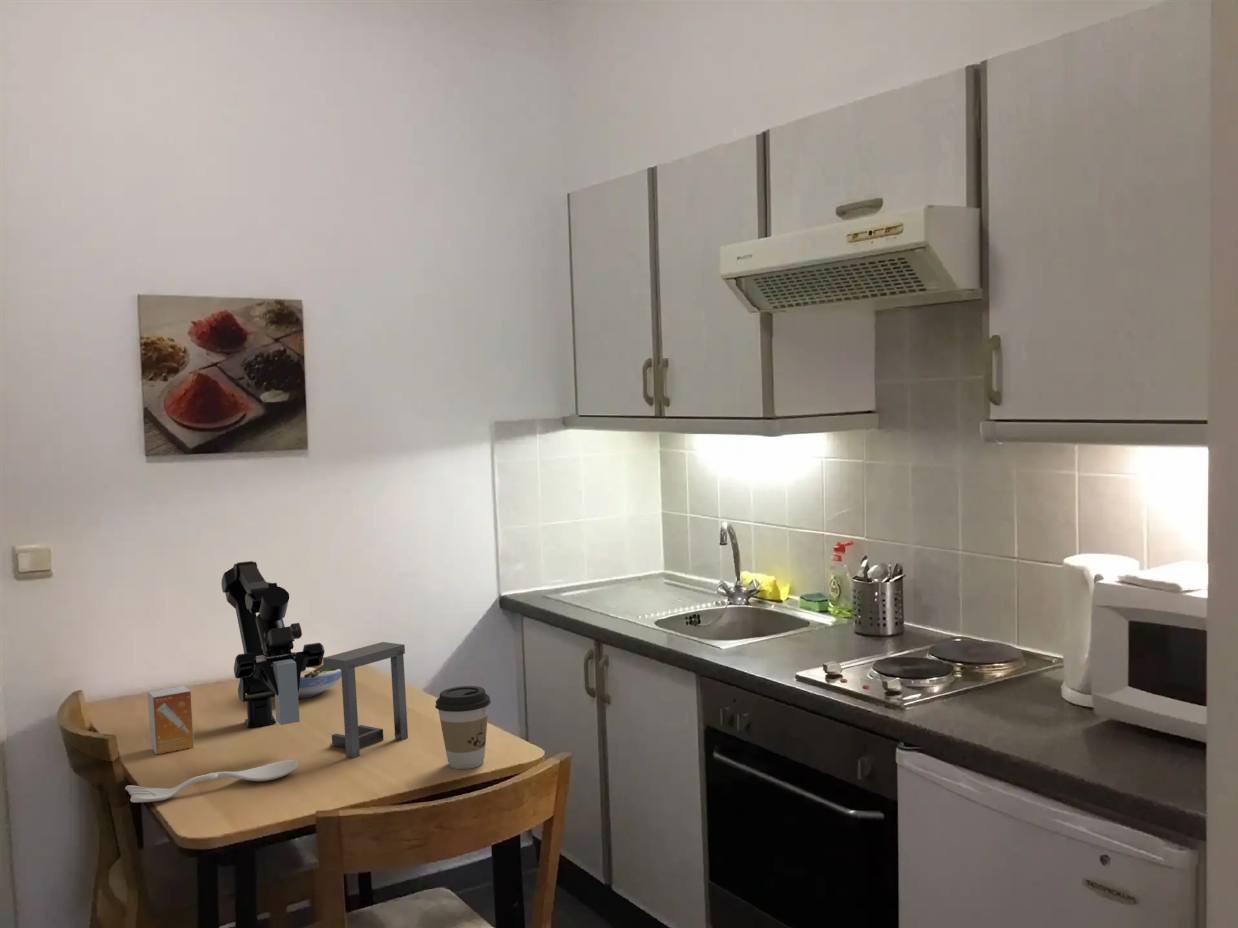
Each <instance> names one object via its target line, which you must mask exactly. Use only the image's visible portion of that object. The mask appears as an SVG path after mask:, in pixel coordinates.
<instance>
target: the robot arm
mask: <svg viewBox="0 0 1238 928" xmlns="http://www.w3.org/2000/svg"><path fill="white" fill-rule="evenodd" d="M221 590H222V592H223V593H224V594H225V597H226V598H225V599H226V602H227V603H228V604H229V605H231V606H232V607H233V608H234V609H235V613H236V617H237V624H238V629H239V633H240V639H241V643H242V644H241V645H242V648H243V653H239V654H237V655H236V656H235V659H234V660H235V661H234V664H233V672H234V673H233V674H234V677H235V679H237V680H238V679H239V683H238V688H237V694H238V699H239V701H240V702H242V703H246V713H247V714H246V715H247V718H246V719H244V722H245V725H246V727H247V728H254V727H261V726H267V725H274V724H277V721H276V719H275V717H274V715H273V703H272V698H273V697H274V698H275V695H278V687H277V684H276V681H275V678H274V672H273V662H275V661H282V660H289V659H292V660H293V661H295V662H296V670H297V686H298V692H299V686H300V676H301V672H302V671H305V670H306V667H307V668H309V667H315V666H319V665H321V663H322V660H323V657H325V656H324V655H325V653H326V651H325V647H324V645H323V644H322V643H320V642H315V643H309V644H306V643H305V644H304V645H303V648H302V651H297V652H296V651H294V652H292V650H293V649H294V647H295V646H294V642H295V640H298V639H300V638H302V636H303V632H302V627H301V624H300V622H295V623H291V624H290V625H289V626H285V622H284V618H286V614H287V610H288V606H289V600H290V593H289V592H288V591H287V590H286V589H285V588H284V587H282V586H278V582H269V581H268V582H267V581H266V579H265V578H264V577H263V575H262V574H261V572H260V569H259V568H258V564H257V562H256V561H253V560H249V561H241V562H236V563H234V565H233V567H231V568H230V569H228V570H227V571H225V572H223V575H222V578H221Z"/></svg>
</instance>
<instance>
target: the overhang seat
mask: <svg viewBox="0 0 1238 928" xmlns="http://www.w3.org/2000/svg"><path fill="white" fill-rule="evenodd" d="M405 653H406V648H405V644H402V643H393V642H388V641H387V642H385V641H382V642H381V641H380V642H377V643H374V644H370V645H366V646H362V647H360V648H359V647H358V648H355V649H352V650H347V651H344V652H340V653H336V654H332V655H329V656H323V657H324V658H323V665H324V667H327V668H333V669H340V670H341V688H342V689H341V690H342V704H343V705H342V706H343V708H342V709H343V719H344V720H343V723H344V725H343V727H344V734H341V733H334V734H331V743H329V746H332V747H335V748H340V749H345V757H346V758H349V759H355V758H358V757H360V756H361V752H360V750H361V749H363V748H366V747H368V746H371V745H374V744H378V743H380V742H383V741H384V729H382V728H379V727H373V726H369V725H365V724H364V725H363V724H360V725H359V717H358V702H357V699H358V698H357V686H356V685H357V683H356V682H357V680H356V668H359V667H362V666H365V665H368V664H369V665H370V664H374V663H376V662H381V661H383V660H387V659H390V670H391V672H390V673H391V685H392V686H391V688H392V690H391V692H392V703H393V704H392V707H393V708H392V709H393V721H394V722H393V725H394V726H393V727H394V739H395V740H398V741H403V740H406V739H409V733H408V731H409V729H408V728H409V727H408V716H407V714H408V711H407V697H406V695H407V694H406V683H405V682H406V678H405V677H406V676H405V661H404V660H405V659H404V654H405Z"/></svg>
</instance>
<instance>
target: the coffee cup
mask: <svg viewBox="0 0 1238 928" xmlns="http://www.w3.org/2000/svg"><path fill="white" fill-rule="evenodd" d="M491 703H492V701H491V697H490V695H489V694H487V693H486V690H485V688H483V687H482V686H476V685H462V686H454V687H448V688H446V689H443V690H442V691H441V692H440V693H439V697H438V698H437V699H436V700H435V709H437V711H438V715H439V720H440V726H441V727H440V728H441V732H442V737H443V738H442V739H443V742H444V743H443V744H444V748H445V754H446V758H447V759H446V760H447V763H448V765H449V766H448V767H449V768H450V769H451V768H452V769H456V770H469V769H473V768H474V769H475V768H477V767H480V766H483V764H484V763H485V761H484V759H485V758H486V757H485V755H486V745H487V744H486V743H487V730H488V719H489V716H488V715H489V705H490V704H491Z"/></svg>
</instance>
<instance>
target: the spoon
mask: <svg viewBox="0 0 1238 928" xmlns="http://www.w3.org/2000/svg"><path fill="white" fill-rule="evenodd" d="M298 767H299V763H298V760H294V759H287V760H281V761H277V762H273V763H269V764H264V765H262V766H258V767H253V768H249V769H244V770H239V771H216V772H209V773H207V774H202V775H198V776H193V777H191V778H189V779H187V780H186V781H183V782H182V783H180V784H178V785H177V786H175V787H172V788H162V787H160V788H159V787H144V786H139V785H132V784H131V785H126V786H125V788H124V790H126V791H127V792H128V794H129V795H130V799H129V800H130V802H131V803H151V802H160V801H161V802H163V801H166V800H168V799H170V798H172V797H174V796H175V795H177V794H178V793H180V792H181V791H183V790H184V789H186V788H187V787H189V786H191V785H193V784H195V783H200V782H203V781H204V782H205V781H210V780H212V781H213V780H217V779H219V778H235V779H238V780H239V779H241V780H244V781H249V782H250V781H251V782H269V780H270V781H273V780H276V779H279V778H282V777H284V776H287V775H289V774H290V773H292V772H294V771H295V770H296V769H297V768H298Z"/></svg>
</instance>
